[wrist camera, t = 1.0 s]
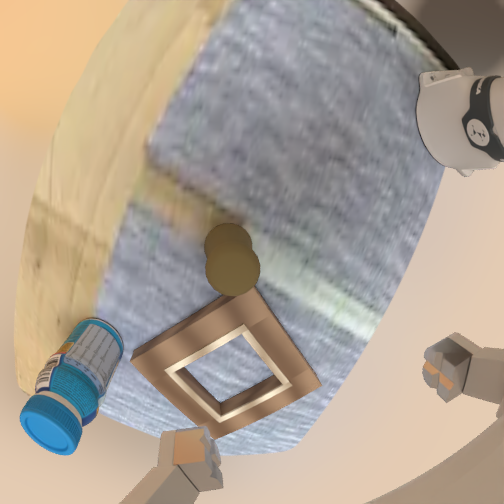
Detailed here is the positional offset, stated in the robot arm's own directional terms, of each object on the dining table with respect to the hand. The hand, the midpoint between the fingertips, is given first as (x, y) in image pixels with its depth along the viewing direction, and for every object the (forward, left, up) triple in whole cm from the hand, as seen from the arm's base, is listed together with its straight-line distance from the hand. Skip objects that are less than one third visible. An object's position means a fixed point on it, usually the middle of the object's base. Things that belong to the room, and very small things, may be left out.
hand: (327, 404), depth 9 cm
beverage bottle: (+26, +1, -29) cm, 39 cm away
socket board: (+12, +15, -29) cm, 35 cm away
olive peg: (+2, 0, -29) cm, 29 cm away
